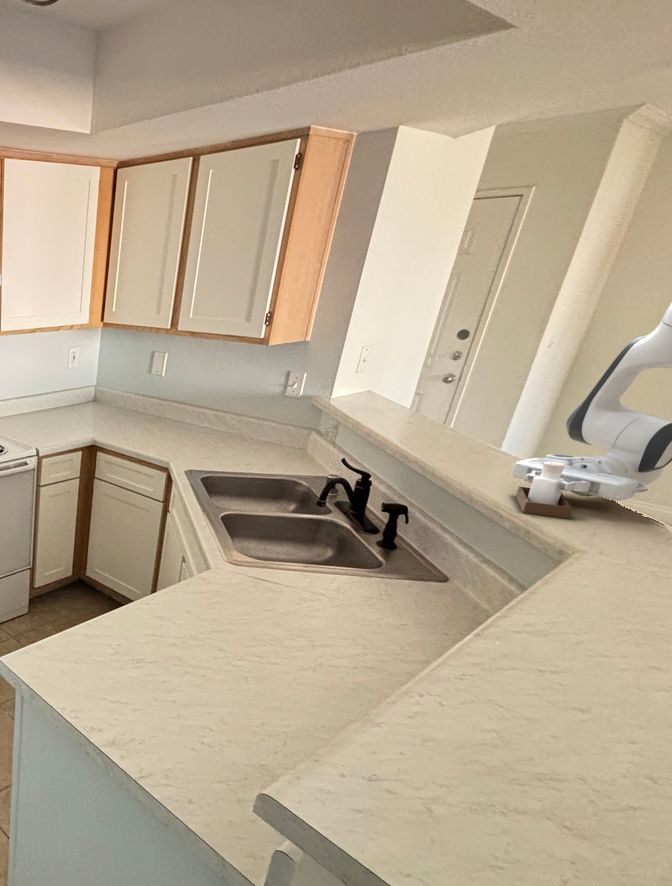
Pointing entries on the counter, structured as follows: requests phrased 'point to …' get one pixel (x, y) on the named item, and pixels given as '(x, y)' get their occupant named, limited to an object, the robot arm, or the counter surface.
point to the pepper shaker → (547, 484)
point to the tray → (542, 505)
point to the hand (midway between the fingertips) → (545, 482)
